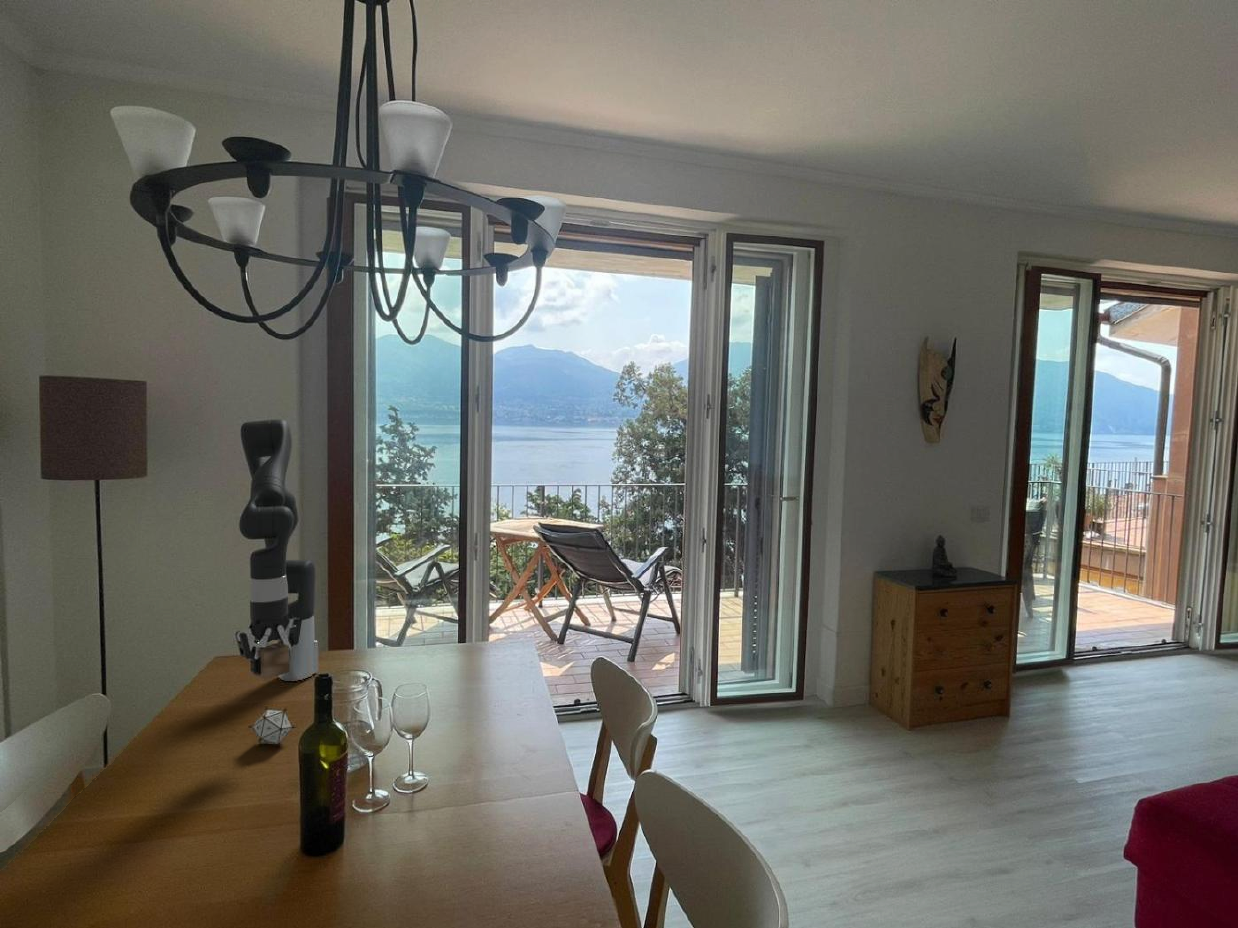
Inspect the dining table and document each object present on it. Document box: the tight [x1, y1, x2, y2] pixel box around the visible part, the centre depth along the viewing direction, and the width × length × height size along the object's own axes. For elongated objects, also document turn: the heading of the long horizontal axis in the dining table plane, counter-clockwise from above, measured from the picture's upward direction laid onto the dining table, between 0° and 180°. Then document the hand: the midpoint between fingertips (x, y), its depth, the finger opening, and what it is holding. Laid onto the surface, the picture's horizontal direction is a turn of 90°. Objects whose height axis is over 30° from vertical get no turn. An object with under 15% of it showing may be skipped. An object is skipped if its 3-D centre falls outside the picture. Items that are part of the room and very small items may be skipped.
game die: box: [247, 706, 297, 746], centre depth 148 cm, size 9×8×10 cm
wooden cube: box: [251, 640, 290, 681], centre depth 147 cm, size 6×6×6 cm
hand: (270, 669), depth 147 cm, fingers closed on wooden cube, 5 cm apart
